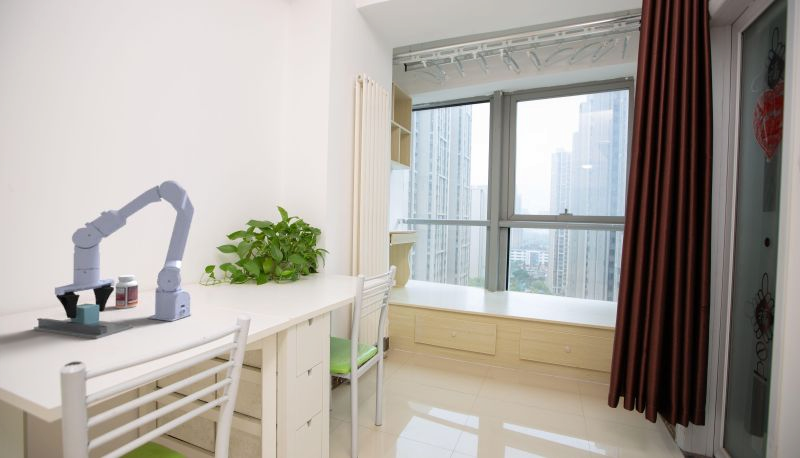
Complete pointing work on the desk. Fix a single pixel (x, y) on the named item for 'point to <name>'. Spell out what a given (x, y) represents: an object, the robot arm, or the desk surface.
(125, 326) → the rail board
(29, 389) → the desk surface
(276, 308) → the desk surface
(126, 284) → the pill bottle
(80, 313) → the block
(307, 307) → the desk surface
